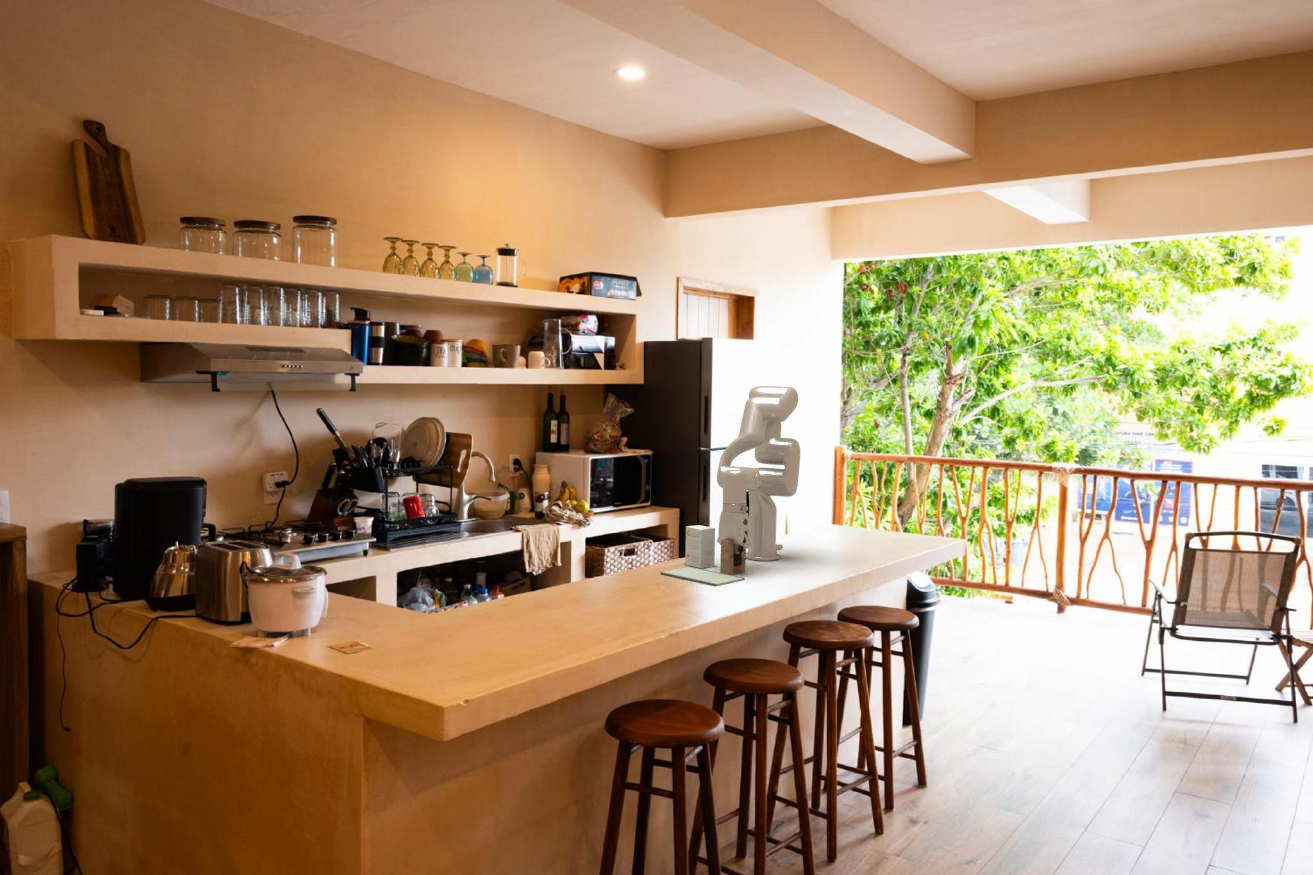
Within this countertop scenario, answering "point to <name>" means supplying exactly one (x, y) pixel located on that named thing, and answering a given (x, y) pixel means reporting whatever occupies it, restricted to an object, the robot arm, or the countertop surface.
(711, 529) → the small box
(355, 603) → the countertop surface
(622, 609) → the countertop surface
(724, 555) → the slab
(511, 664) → the countertop surface
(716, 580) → the mat
